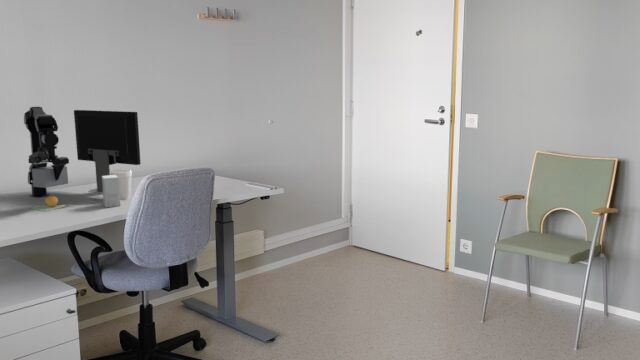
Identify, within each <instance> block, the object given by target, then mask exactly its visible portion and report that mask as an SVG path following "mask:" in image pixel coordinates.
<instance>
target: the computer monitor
mask: <svg viewBox="0 0 640 360" xmlns="http://www.w3.org/2000/svg"><path fill="white" fill-rule="evenodd" d="M73 116H74V117H73V119H74V130H75V141H76V154H77V160H78V161H84V162H85V161H89V162H94V164H95V165H94V166H95V178H96V179H95V180H96V188H93V189H89V190H88V193H95V192H97V194H103V187H102V176H107V175H111V171H110V169H111V168H110V166H112V165H117V164H119V165H120V164H121V165H123V164H124V165H133V166H138V165H141V163H142V162H141V151H140V150H141V149H140V135H139V133H140V132H139V116H138V112H137V111H120V110H115V111H114V110H113V111H112V110H91V109H90V110H89V109H85V110H84V109H75V110H73Z"/></svg>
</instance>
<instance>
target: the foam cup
mask: <svg viewBox="0 0 640 360" xmlns="http://www.w3.org/2000/svg"><path fill="white" fill-rule="evenodd" d="M132 174H133V173H132V170H131V169H115V170H111V171H110V175H116V176H117V177H118V178H119V194H120V201H123V200H129V199H131V188H132Z"/></svg>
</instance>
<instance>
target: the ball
mask: <svg viewBox="0 0 640 360" xmlns="http://www.w3.org/2000/svg"><path fill="white" fill-rule="evenodd" d="M58 203H59V200H58V197H56V196H54V195H48V196H47V197H46V198H45V205H47V206H49V207H54V206H56V205H58Z"/></svg>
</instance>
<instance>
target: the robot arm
mask: <svg viewBox="0 0 640 360" xmlns="http://www.w3.org/2000/svg"><path fill="white" fill-rule="evenodd" d="M23 124H24V125H25V128H26V129H27V130H28V132H29V136H30V138H29V139H30V149H31V154H30V155H28V164H30V166H29V168H28V169H29V170H28V172H27V184H28V185H29V186H30V185H31V194H29V197H34V198H35V197H36V198H41V197H46V196H50V193H48V191H47V190H48V189H47V188H42V187H33V176H32V169H35V168H42V167H48V163H51V165H50V166H52V167H53V169H54V174H55V179H56V180H58V179H59V177H60V174H61V172H62V170H63V168H64V166H67V165H68V164H70V159H69V157H67V156H60V157H58V155H56V150H55V149H57V148H58V147H57V146H56V145H58V143H59V137H58V135H57V134H56V133H55V132H58V130H59V125H58V124H57V120H56V119H55V117H53V115H52V114H46V112H45V111H44V110H43V107H42V106H30V107H29V109H28V110H27V111H26V112H25V113H24V115H23Z"/></svg>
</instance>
